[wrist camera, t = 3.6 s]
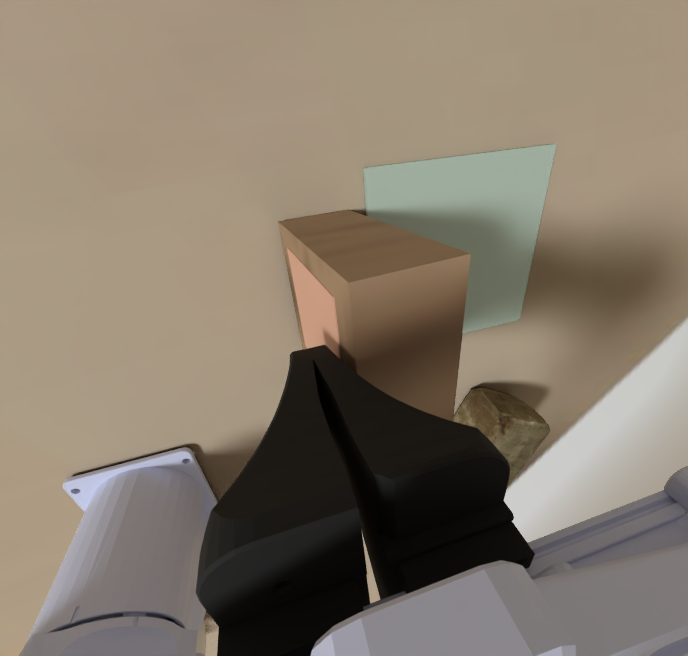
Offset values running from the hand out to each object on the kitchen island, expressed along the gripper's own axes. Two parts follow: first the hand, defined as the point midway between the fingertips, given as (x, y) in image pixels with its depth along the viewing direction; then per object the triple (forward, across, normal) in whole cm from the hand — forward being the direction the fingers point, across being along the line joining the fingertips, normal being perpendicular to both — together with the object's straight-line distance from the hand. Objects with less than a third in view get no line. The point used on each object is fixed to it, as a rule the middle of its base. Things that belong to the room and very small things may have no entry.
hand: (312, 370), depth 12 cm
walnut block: (+8, -2, 0) cm, 9 cm away
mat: (+8, -11, 0) cm, 14 cm away
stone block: (+9, -14, +18) cm, 24 cm away
